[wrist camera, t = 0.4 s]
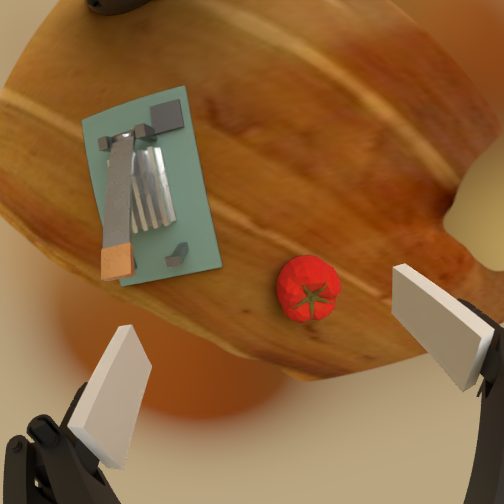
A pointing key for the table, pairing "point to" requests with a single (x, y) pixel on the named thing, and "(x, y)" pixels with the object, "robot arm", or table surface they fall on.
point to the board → (180, 178)
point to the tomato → (307, 288)
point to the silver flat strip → (119, 210)
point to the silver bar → (150, 190)
